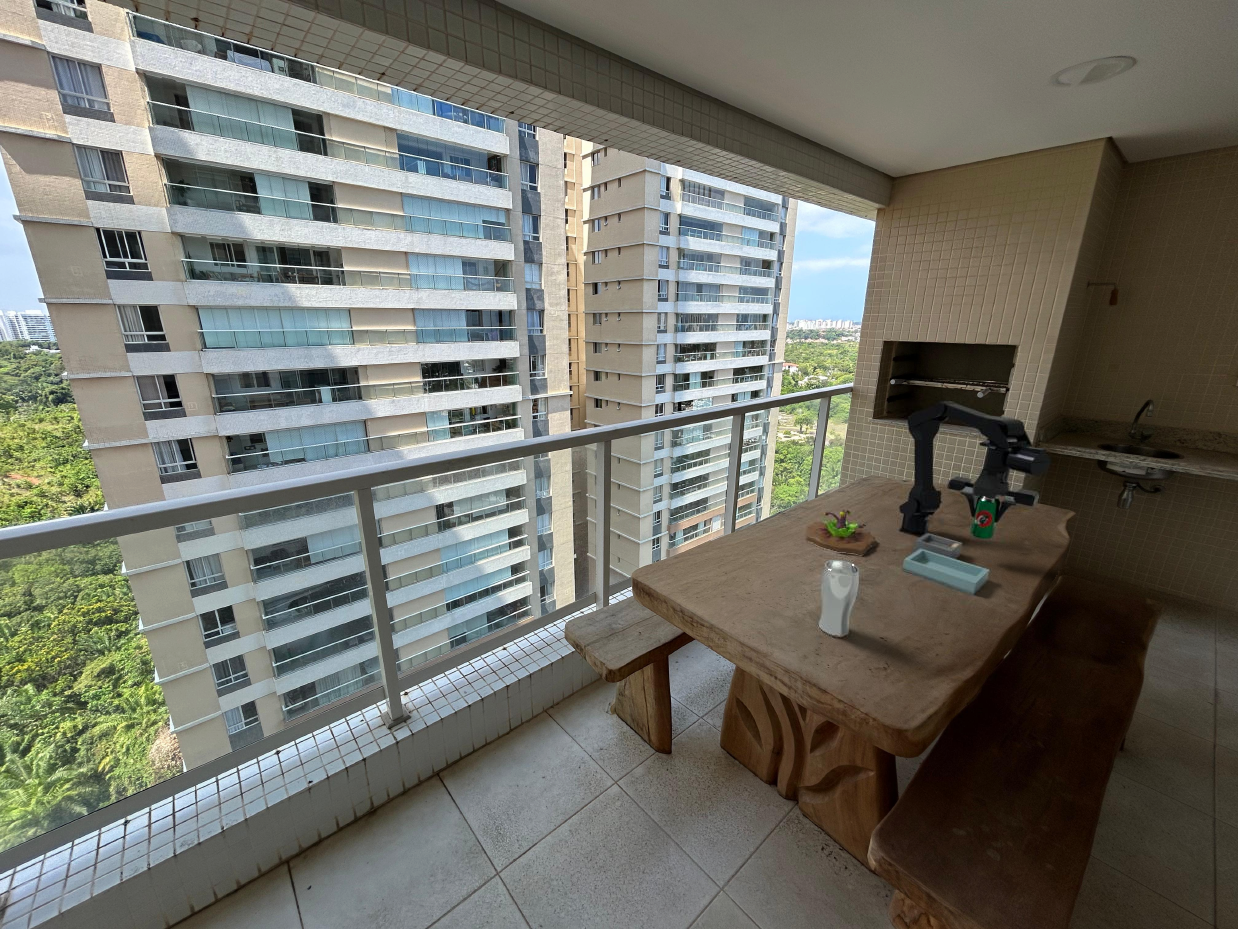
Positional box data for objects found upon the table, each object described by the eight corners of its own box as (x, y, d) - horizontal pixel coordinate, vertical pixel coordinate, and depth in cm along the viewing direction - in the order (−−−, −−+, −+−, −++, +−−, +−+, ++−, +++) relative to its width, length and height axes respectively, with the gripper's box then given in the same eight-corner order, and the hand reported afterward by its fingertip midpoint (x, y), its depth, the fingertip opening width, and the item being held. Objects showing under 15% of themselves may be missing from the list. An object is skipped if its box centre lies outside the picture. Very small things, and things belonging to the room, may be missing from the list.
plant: (798, 545, 140) (802, 511, 137) (811, 524, 156) (815, 494, 153) (870, 562, 130) (876, 525, 127) (877, 538, 145) (882, 505, 142)
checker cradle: (913, 553, 134) (915, 539, 133) (925, 545, 139) (927, 531, 138) (948, 564, 127) (951, 550, 126) (959, 555, 132) (962, 541, 131)
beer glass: (810, 620, 102) (817, 559, 98) (839, 619, 102) (848, 558, 98) (826, 640, 95) (835, 575, 91) (858, 638, 95) (867, 574, 92)
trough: (902, 570, 124) (904, 559, 123) (918, 559, 130) (920, 548, 129) (972, 595, 112) (975, 583, 111) (986, 581, 118) (989, 569, 117)
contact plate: (920, 550, 133) (921, 545, 133) (929, 544, 137) (929, 540, 137) (945, 557, 129) (946, 553, 128) (953, 552, 132) (954, 547, 132)
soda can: (996, 540, 124) (1006, 499, 121) (975, 539, 125) (984, 498, 122) (985, 533, 129) (995, 493, 125) (965, 532, 130) (974, 492, 126)
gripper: (945, 463, 124) (935, 516, 128) (1035, 479, 109) (1020, 538, 114) (959, 456, 130) (949, 507, 134) (1046, 471, 116) (1031, 527, 120)
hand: (984, 519), depth 125 cm, fingers closed on soda can, 5 cm apart
